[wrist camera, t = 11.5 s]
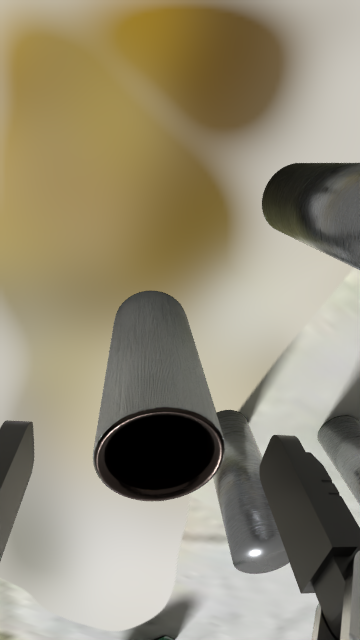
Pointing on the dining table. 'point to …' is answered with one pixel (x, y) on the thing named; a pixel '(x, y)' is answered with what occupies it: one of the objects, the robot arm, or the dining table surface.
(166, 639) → the coffee box
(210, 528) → the dining table surface
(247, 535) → the spacer posts
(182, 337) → the hollow grey tube
